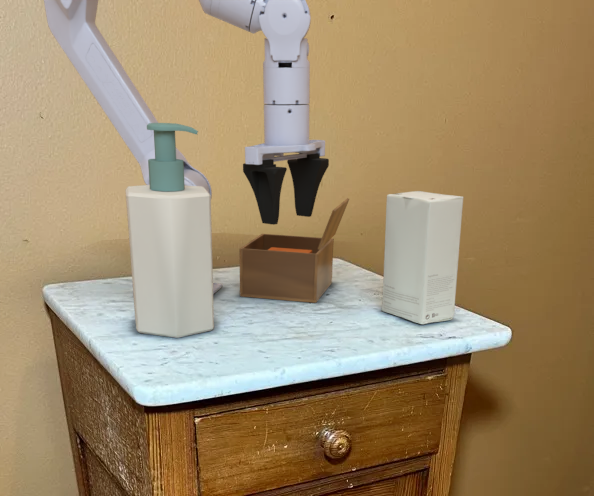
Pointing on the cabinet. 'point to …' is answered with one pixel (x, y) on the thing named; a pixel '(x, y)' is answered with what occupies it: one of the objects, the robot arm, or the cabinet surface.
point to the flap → (333, 223)
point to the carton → (285, 268)
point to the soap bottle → (170, 245)
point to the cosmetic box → (421, 255)
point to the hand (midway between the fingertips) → (287, 219)
